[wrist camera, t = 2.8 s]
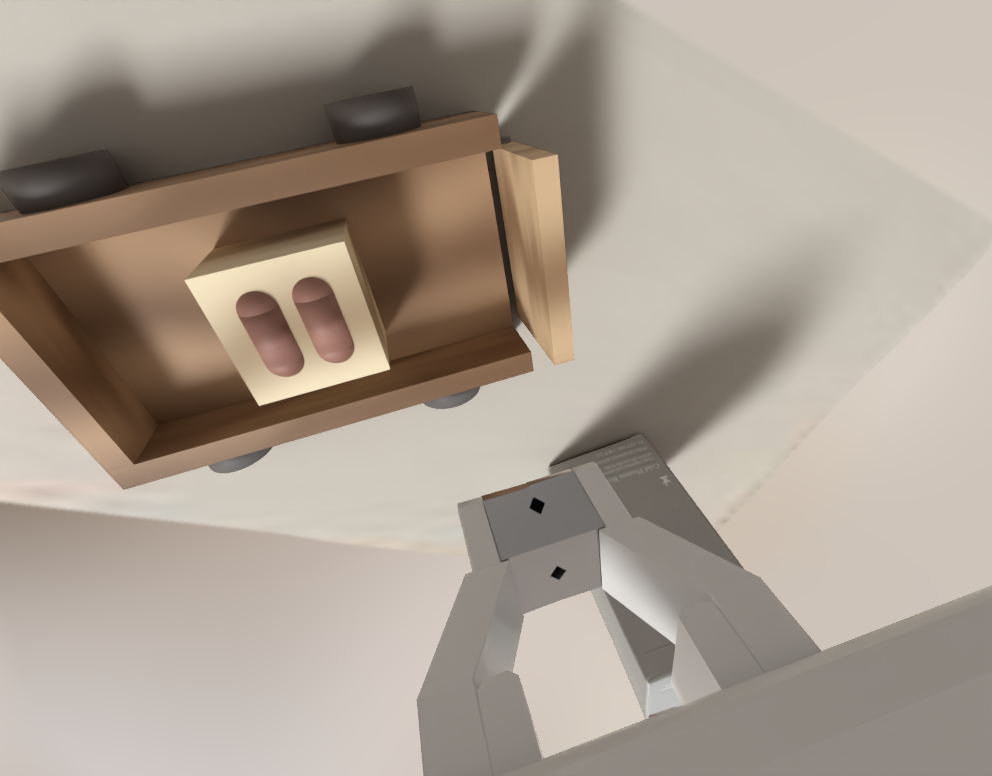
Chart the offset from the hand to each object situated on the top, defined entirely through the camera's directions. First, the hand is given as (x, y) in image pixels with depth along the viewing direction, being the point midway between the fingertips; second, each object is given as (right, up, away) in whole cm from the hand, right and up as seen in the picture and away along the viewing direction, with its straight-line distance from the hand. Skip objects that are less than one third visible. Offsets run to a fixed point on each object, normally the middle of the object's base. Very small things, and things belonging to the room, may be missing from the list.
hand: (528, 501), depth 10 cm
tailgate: (0, +10, +14) cm, 18 cm away
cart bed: (-11, +8, +14) cm, 19 cm away
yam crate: (-10, +7, +13) cm, 18 cm away
